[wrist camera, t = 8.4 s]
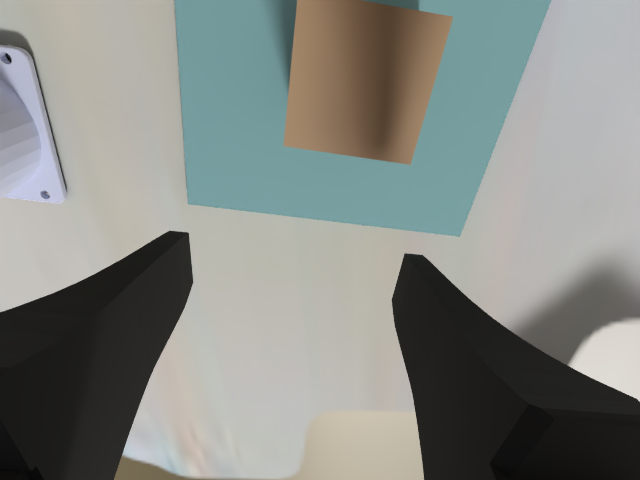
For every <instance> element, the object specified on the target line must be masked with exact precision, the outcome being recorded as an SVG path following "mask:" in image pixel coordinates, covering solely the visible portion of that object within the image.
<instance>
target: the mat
mask: <svg viewBox="0 0 640 480" xmlns="http://www.w3.org/2000/svg"><path fill="white" fill-rule="evenodd" d="M362 1H368V2H373V3H379V4H384V5H390V6H396V7H401V8H407V9H413V10H418V11H424V12H430V13H435V14H441V15H447V16H452V17H453V20H452V24H451V27H450V30H449V34H448V37H447V41H446V44H445V48H444V51H443V55H442V58H441V62H440V65H439V68H438V72H437V75H436V79H435V82H434V86H433V89H432V93H431V96H430V100H429V103H428V106H427V110H426V113H425V117H424V120H423V124H422V127H421V131H420V134H419V138H418V141H417V144H416V148H415V151H414V155H413V158H412V162H411V165H408V164H401V163H395V162H388V161H381V160H374V159H367V158H361V157H354V156H347V155H340V154H334V153H327V152H320V151H313V150H306V149H300V148H293V147H286V146H283V144H284V134H285V123H286V113H287V102H288V92H289V82H290V71H291V61H292V50H293V40H294V30H295V19H296V9H297V0H175V14H176V29H177V44H178V60H179V75H180V90H181V105H182V120H183V136H184V151H185V166H186V181H187V196H188V204H191V205H200V206H208V207H216V208H225V209H233V210H241V211H250V212H258V213H267V214H275V215H283V216H292V217H300V218H308V219H317V220H325V221H334V222H342V223H350V224H359V225H367V226H375V227H384V228H392V229H401V230H409V231H417V232H426V233H434V234H442V235H451V236H459V237H460V235H461V232H462V230H463V227H464V224H465V222H466V219H467V217H468V214H469V211H470V209H471V206H472V204H473V201H474V198H475V196H476V193H477V191H478V188H479V186H480V183H481V180H482V178H483V175H484V173H485V170H486V167H487V165H488V162H489V160H490V157H491V154H492V152H493V149H494V147H495V144H496V142H497V139H498V136H499V134H500V131H501V129H502V126H503V123H504V121H505V118H506V116H507V113H508V111H509V108H510V105H511V103H512V100H513V98H514V95H515V92H516V90H517V87H518V85H519V82H520V79H521V77H522V74H523V72H524V69H525V67H526V64H527V61H528V59H529V56H530V54H531V51H532V48H533V46H534V43H535V41H536V38H537V35H538V33H539V30H540V28H541V25H542V23H543V20H544V17H545V15H546V12H547V10H548V7H549V4H550V2H551V0H362Z"/></svg>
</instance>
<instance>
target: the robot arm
mask: <svg viewBox="0 0 640 480" xmlns="http://www.w3.org/2000/svg"><path fill="white" fill-rule="evenodd" d="M6 53H7V54H9V55H10V57H11V59H12V62H9V61H8V60H7V58H6ZM45 191H47V192H48V193H49V195H50V196H49V195H47V194H46V193H45ZM1 197H6V198H14V199H23V200H31V201H40V202H48V203H62V202H63V201H65V200H66V199H67V192H66V188H65V184H64V181H63V177H62V173H61V169H60V165H59V161H58V157H57V153H56V149H55V145H54V141H53V137H52V133H51V129H50V126H49V122H48V118H47V114H46V110H45V106H44V102H43V98H42V94H41V90H40V86H39V82H38V78H37V74H36V70H35V67H34V63H33V59H32V57H31V55H30V54H29V53H28V52H27V51H26V50H24V49H23V48H20V47H14V46H7V45H0V198H1ZM192 284H193V276H192V265H191V254H190V243H189V233H187V232H176V231H169V232H167V233H165V234H163V235H161V236H160V237H158V238H156V239H155V240H153V241H151V242H150V243H148V244H146V245H145V246H143V247H142V248H140V249H138V250H137V251H135V252H133V253H132V254H130V255H128V256H127V257H125V258H123V259H122V260H120V261H118V262H116V263H114V264H112V265H111V266H109V267H107V268H105V269H103V270H101V271H100V272H98V273H96V274H94V275H92V276H90V277H88V278H86V279H84V280H82V281H80V282H78V283H76V284H73V285H71V286H69V287H66V288H64V289H62V290H60V291H57V292H55V293H53V294H50V295H47V296H45V297H42V298H39V299H37V300H34V301H31V302H29V303H26V304H23V305H21V306H18V307H15V308H12V309H9V310H6V311H3V312H0V480H114V477H115V474H116V471H117V468H118V465H119V462H120V459H121V456H122V453H123V450H124V447H125V444H126V441H127V438H128V435H129V432H130V429H131V427H132V424H133V421H134V418H135V415H136V413H137V410H138V407H139V404H140V402H141V399H142V397H143V394H144V391H145V389H146V386H147V383H148V381H149V378H150V376H151V374H152V372H153V369H154V367H155V365H156V363H157V361H158V359H159V357H160V355H161V353H162V351H163V349H164V347H165V345H166V343H167V341H168V339H169V337H170V336H171V334H172V332H173V330H174V328H175V326H176V324H177V322H178V320H179V318H180V316H181V314H182V312H183V310H184V308H185V305H186V302H187V299H188V296H189V293H190V290H191V287H192ZM392 306H393V315H394V322H395V328H396V332H397V336H398V340H399V344H400V347H401V351H402V355H403V359H404V362H405V366H406V370H407V373H408V377H409V381H410V385H411V389H412V394H413V399H414V405H415V412H416V417H417V424H418V432H419V439H420V446H421V454H422V462H423V471H424V480H640V402H639V401H638V400H637V399H636V398H633V397H631V396H629V395H627V394H625V393H622V392H620V391H618V390H616V389H614V388H612V387H609V386H607V385H605V384H603V383H600V382H598V381H596V380H594V379H592V378H590V377H588V376H586V375H584V374H582V373H580V372H578V371H576V370H574V369H573V368H571V367H569V366H567V365H565V364H563V363H561V362H560V361H558V360H556V359H554V358H552V357H551V356H549V355H547V354H545V353H544V352H542V351H541V350H539V349H537V348H536V347H534V346H532V345H531V344H529V343H528V342H526V341H524V340H523V339H521V338H520V337H518V336H517V335H515V334H514V333H512V332H511V331H510V330H508V329H507V328H505V327H504V326H503V325H501V324H500V323H498V322H497V321H496V320H494V319H493V318H492V317H491V316H489V315H488V314H487V313H485V312H484V311H483V310H482V309H481V308H479V307H478V306H477V305H476V304H475V303H473V302H472V301H471V300H470V299H469V298H468V297H467V296H465V295H464V294H463V293H462V292H461V291H460V290H459V289H458V288H457V287H456V286H455V285H454V284H452V283H451V282H450V281H449V280H448V279H447V278H446V277H445V276H444V275H443V274H442V273H441V272H440V271H439V270H438V269H437V268H436V267H435V266H434V265H433V264H432V263H431V262H430V261H429V260H428V259H426V258H425V257H424V256H423V255H416V254H404V258H403V262H402V265H401V269H400V272H399V276H398V280H397V283H396V287H395V290H394V294H393V298H392Z"/></svg>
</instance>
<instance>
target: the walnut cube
mask: <svg viewBox="0 0 640 480" xmlns="http://www.w3.org/2000/svg"><path fill="white" fill-rule="evenodd" d="M452 20H453V17H452V16H447V15H441V14H435V13H430V12H424V11H418V10H413V9H407V8H401V7H396V6H390V5H384V4H379V3H373V2H368V1H362V0H297V9H296V19H295V30H294V40H293V50H292V61H291V71H290V82H289V92H288V102H287V113H286V123H285V134H284V144H283V146H286V147H293V148H300V149H306V150H313V151H320V152H327V153H334V154H340V155H347V156H354V157H361V158H367V159H374V160H381V161H388V162H395V163H401V164H408V165H411V162H412V158H413V155H414V151H415V148H416V144H417V141H418V138H419V134H420V131H421V127H422V124H423V120H424V117H425V113H426V110H427V106H428V103H429V100H430V96H431V93H432V89H433V86H434V82H435V79H436V75H437V72H438V68H439V65H440V62H441V58H442V55H443V51H444V48H445V44H446V41H447V37H448V34H449V30H450V27H451V24H452Z"/></svg>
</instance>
